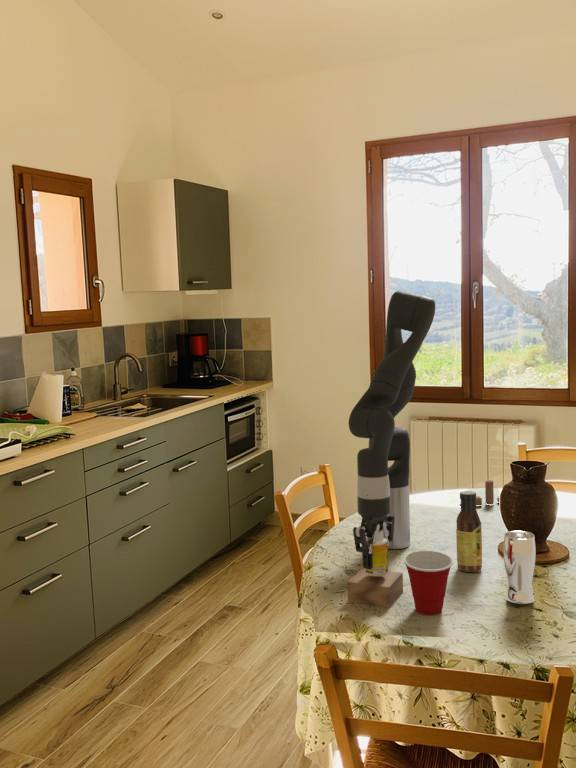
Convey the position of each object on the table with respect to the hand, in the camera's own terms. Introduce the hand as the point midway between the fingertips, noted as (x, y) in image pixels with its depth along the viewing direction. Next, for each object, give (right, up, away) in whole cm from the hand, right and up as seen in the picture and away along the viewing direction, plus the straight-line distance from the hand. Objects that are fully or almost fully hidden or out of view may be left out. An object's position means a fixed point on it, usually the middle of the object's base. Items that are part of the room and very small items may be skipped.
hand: (375, 564), depth 175 cm
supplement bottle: (0, -2, 0) cm, 2 cm away
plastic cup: (+11, -8, -8) cm, 16 cm away
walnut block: (0, -8, +1) cm, 8 cm away
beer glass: (+32, -7, -4) cm, 34 cm away
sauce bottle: (+26, -5, +16) cm, 31 cm away
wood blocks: (+38, 0, +68) cm, 78 cm away
